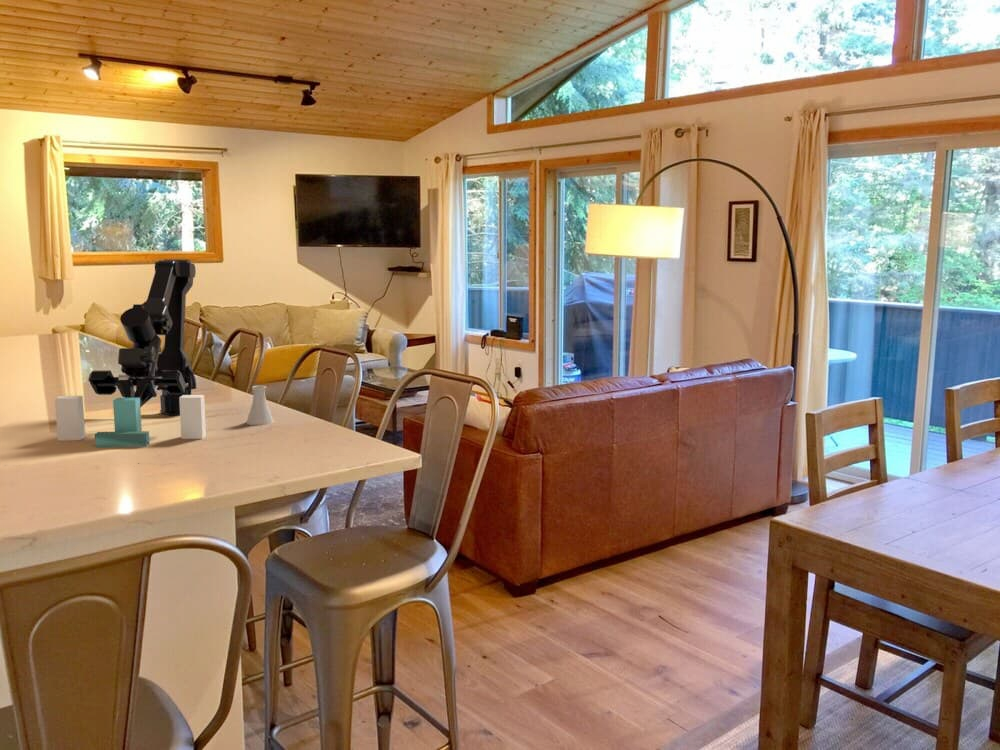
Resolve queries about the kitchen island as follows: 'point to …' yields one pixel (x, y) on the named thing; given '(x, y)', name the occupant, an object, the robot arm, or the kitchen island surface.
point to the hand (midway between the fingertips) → (130, 414)
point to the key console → (122, 439)
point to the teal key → (127, 414)
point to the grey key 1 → (70, 418)
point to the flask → (259, 408)
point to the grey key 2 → (192, 416)
